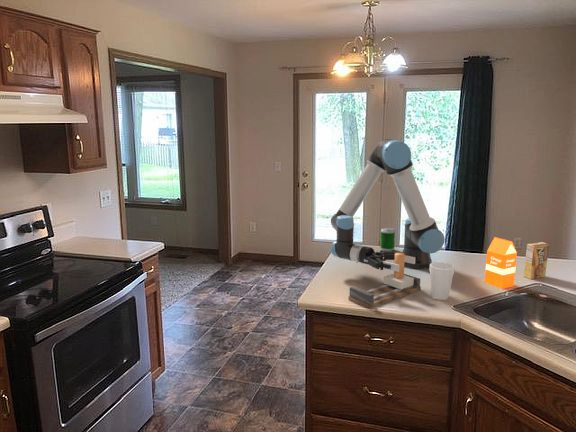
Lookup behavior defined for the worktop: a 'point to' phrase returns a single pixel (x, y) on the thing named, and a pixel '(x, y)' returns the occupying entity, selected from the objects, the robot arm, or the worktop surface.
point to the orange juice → (500, 263)
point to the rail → (381, 294)
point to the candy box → (536, 260)
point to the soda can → (387, 239)
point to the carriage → (399, 274)
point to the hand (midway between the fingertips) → (407, 264)
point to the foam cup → (441, 279)
